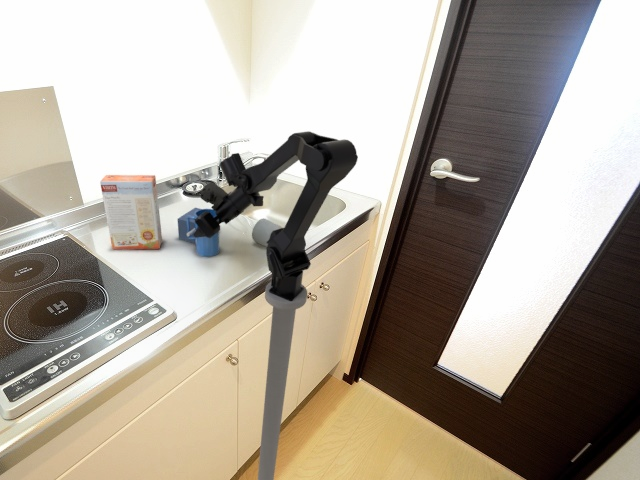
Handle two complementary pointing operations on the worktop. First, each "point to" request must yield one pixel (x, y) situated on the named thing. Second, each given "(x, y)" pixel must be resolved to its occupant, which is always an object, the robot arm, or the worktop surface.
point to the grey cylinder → (263, 231)
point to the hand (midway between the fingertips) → (203, 229)
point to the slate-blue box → (183, 226)
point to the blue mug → (204, 244)
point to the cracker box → (132, 211)
